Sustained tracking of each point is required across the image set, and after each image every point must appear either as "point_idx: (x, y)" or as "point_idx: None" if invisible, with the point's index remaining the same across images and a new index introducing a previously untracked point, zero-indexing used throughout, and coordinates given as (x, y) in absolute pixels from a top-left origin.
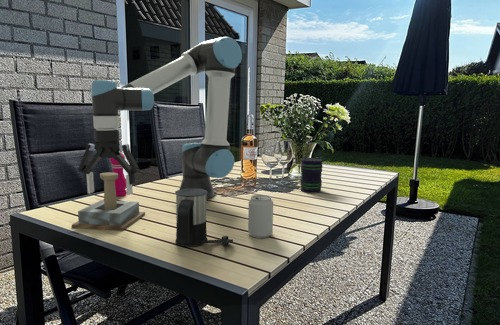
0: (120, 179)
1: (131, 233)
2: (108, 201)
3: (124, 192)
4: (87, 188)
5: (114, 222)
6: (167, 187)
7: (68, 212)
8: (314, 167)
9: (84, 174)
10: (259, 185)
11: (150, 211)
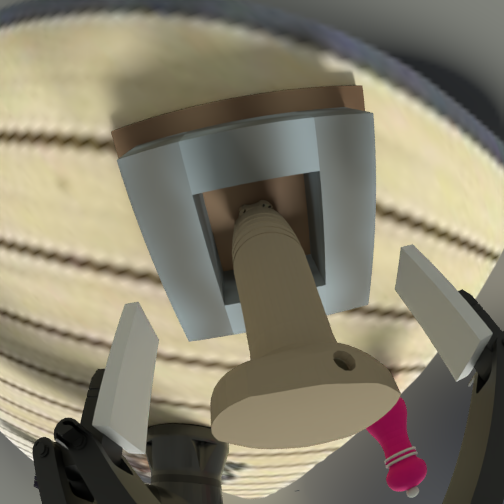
0: (381, 428)
1: (68, 124)
2: (258, 239)
3: None
4: (430, 262)
5: (160, 139)
6: (290, 448)
7: (449, 239)
8: (36, 478)
9: (499, 330)
10: (134, 470)
11: (193, 343)
